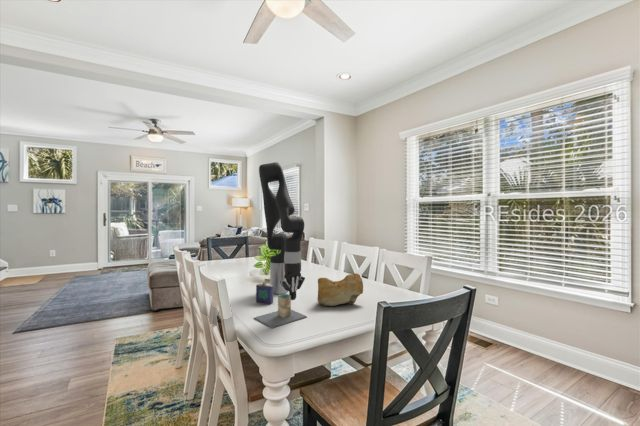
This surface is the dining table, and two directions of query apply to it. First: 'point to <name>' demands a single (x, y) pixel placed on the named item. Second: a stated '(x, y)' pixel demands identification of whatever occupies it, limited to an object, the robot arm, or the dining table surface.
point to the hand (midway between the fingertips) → (292, 299)
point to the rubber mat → (279, 319)
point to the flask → (264, 293)
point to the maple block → (284, 305)
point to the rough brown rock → (339, 290)
